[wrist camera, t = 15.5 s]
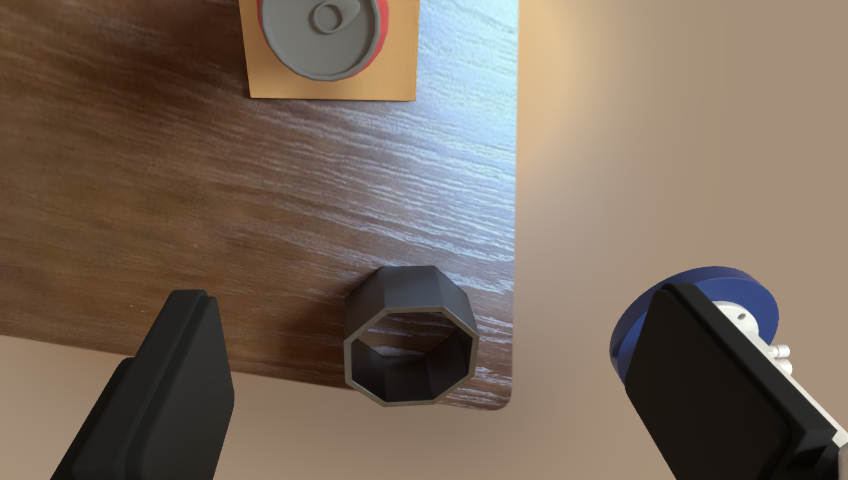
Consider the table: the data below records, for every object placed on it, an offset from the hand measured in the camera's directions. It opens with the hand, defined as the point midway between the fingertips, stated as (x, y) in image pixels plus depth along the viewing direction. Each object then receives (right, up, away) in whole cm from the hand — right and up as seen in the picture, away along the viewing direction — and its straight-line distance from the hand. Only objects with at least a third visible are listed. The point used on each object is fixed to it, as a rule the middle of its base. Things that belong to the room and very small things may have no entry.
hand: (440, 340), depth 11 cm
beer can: (-7, +19, +23) cm, 30 cm away
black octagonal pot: (-2, -5, +38) cm, 39 cm away
